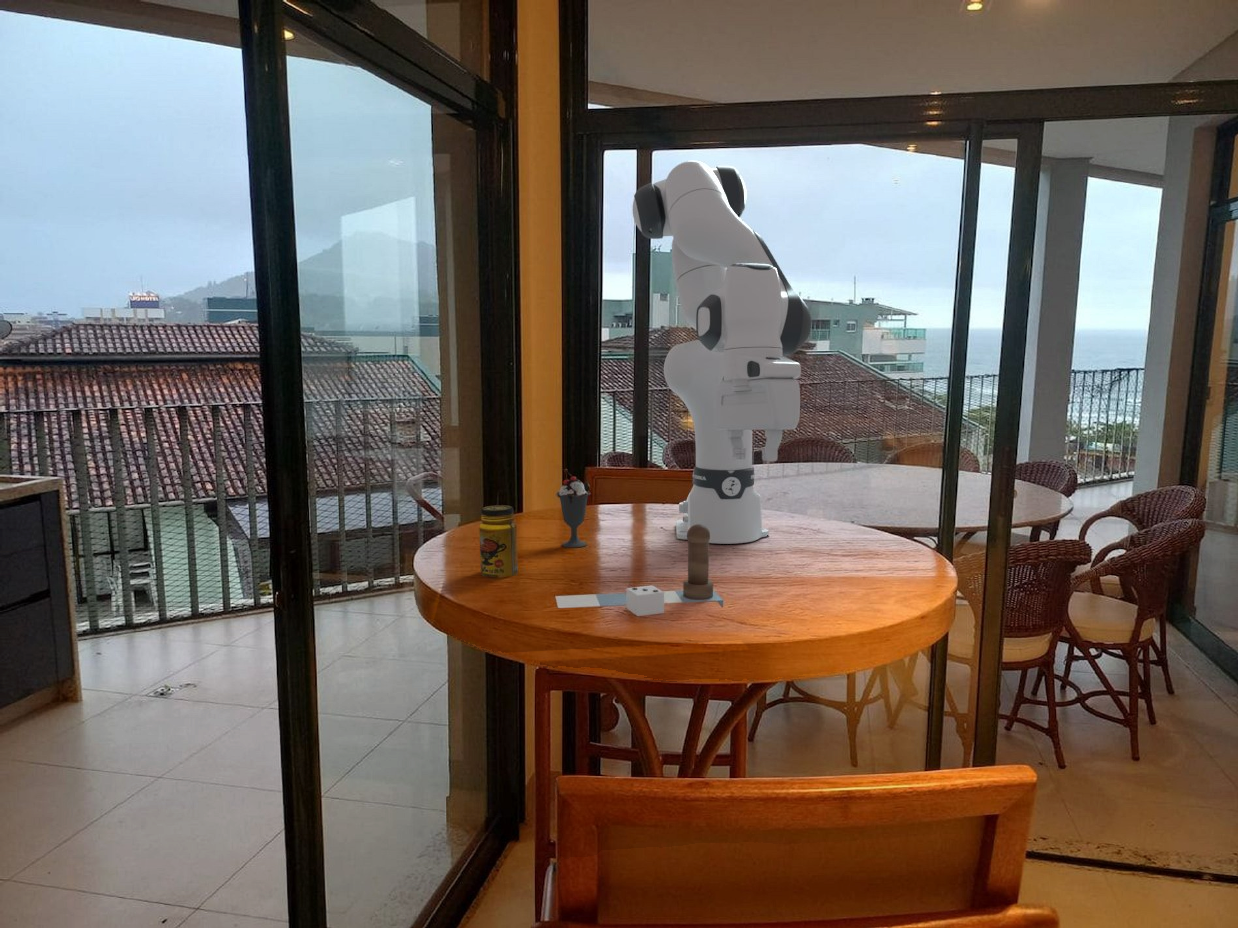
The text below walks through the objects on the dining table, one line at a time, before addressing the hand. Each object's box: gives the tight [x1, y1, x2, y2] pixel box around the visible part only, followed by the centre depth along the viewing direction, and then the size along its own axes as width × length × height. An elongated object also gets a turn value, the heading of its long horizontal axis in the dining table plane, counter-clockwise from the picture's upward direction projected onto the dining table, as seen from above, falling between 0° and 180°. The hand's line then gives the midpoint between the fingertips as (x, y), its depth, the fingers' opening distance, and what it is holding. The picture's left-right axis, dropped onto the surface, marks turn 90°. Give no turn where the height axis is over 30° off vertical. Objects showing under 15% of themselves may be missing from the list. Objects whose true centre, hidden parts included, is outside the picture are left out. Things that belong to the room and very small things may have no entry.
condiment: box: [478, 504, 519, 579], centre depth 142 cm, size 7×8×12 cm
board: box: [555, 588, 724, 609], centre depth 126 cm, size 6×24×1 cm, turn 98°
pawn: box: [682, 524, 714, 600], centre depth 127 cm, size 4×4×11 cm
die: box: [625, 584, 665, 617], centre depth 120 cm, size 4×4×4 cm
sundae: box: [556, 468, 592, 549], centre depth 165 cm, size 7×7×15 cm
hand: (753, 460), depth 131 cm, fingers open, 8 cm apart
